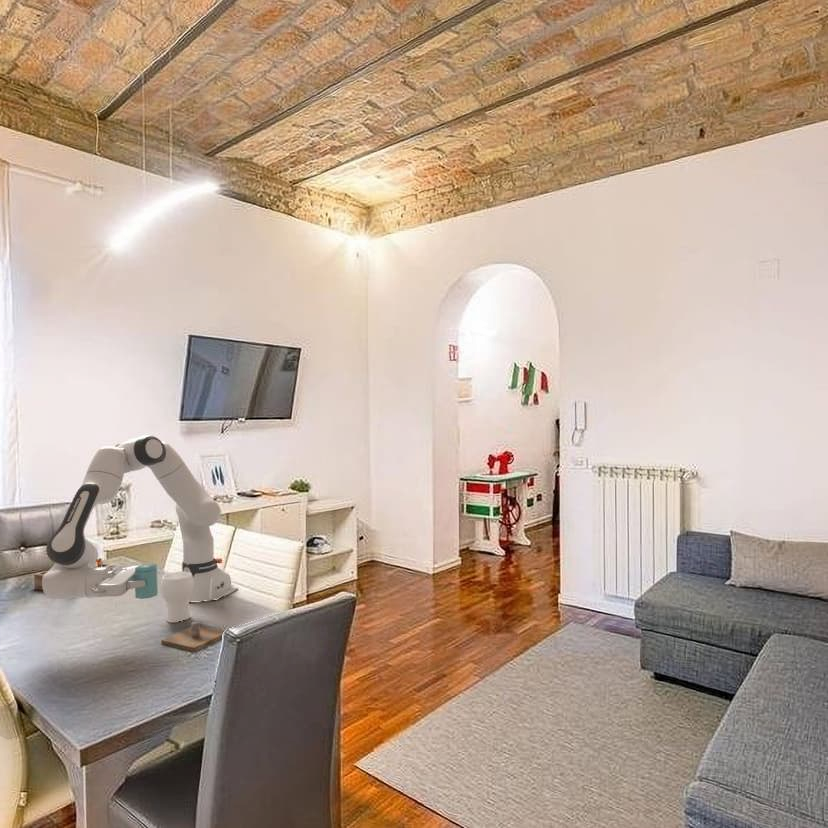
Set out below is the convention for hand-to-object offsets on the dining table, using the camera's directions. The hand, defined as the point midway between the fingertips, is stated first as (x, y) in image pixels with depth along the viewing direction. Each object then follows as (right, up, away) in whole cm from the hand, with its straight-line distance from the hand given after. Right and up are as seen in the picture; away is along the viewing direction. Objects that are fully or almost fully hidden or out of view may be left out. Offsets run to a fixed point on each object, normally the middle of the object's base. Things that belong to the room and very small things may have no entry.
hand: (149, 579), depth 182 cm
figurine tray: (-57, -20, +63) cm, 87 cm away
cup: (0, -20, +22) cm, 30 cm away
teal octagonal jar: (-1, -5, 0) cm, 5 cm away
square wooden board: (+13, -20, +3) cm, 24 cm away
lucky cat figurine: (-58, -20, +66) cm, 90 cm away
